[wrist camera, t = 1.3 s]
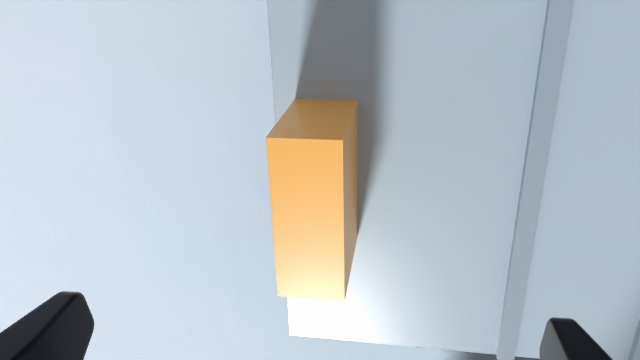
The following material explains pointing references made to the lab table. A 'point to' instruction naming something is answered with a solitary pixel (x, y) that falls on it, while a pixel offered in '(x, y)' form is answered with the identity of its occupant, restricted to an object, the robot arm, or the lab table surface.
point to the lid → (457, 171)
